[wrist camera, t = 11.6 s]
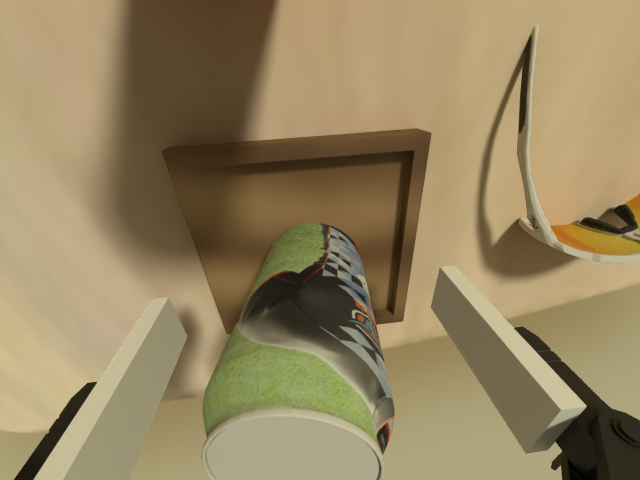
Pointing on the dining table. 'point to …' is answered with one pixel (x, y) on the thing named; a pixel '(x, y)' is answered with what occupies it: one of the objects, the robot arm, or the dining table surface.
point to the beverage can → (301, 370)
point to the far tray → (303, 206)
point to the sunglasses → (578, 237)
